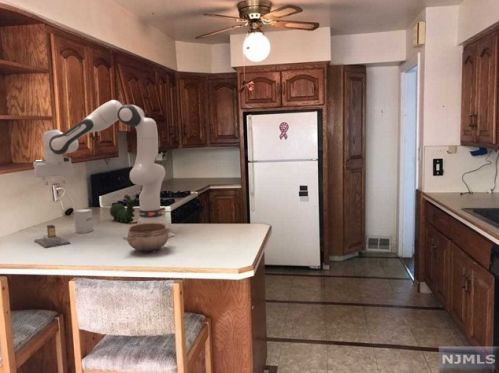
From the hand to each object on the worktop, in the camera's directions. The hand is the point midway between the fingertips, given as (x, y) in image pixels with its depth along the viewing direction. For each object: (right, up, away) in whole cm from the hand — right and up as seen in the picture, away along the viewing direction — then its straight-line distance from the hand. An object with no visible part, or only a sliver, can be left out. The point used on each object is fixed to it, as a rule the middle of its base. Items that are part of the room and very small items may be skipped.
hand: (55, 184), depth 237 cm
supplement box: (+11, -28, +13) cm, 33 cm away
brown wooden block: (+4, -30, -12) cm, 32 cm away
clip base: (+4, -31, -12) cm, 33 cm away
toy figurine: (+25, -24, +40) cm, 53 cm away
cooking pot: (+60, -32, -34) cm, 76 cm away
